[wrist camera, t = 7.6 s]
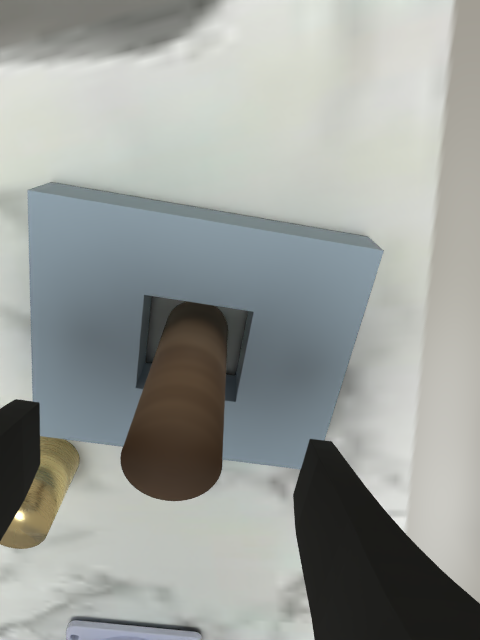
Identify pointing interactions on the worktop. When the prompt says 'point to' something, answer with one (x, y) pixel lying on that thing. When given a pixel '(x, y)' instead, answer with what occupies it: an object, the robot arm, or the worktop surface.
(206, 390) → the walnut pin
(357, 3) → the worktop surface
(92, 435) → the hole plate
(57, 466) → the brass pin
